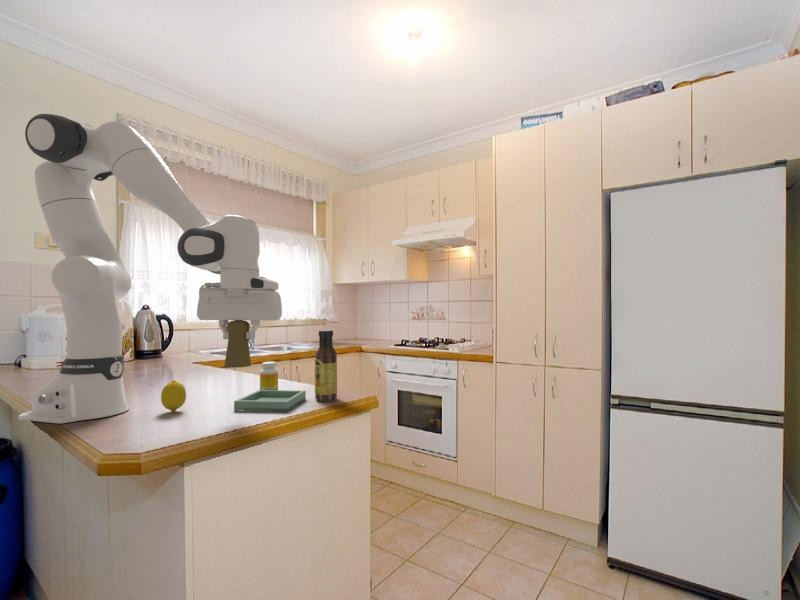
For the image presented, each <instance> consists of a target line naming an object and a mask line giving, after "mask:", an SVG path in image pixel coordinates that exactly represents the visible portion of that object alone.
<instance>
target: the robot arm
mask: <svg viewBox="0 0 800 600" xmlns="http://www.w3.org/2000/svg"><path fill="white" fill-rule="evenodd" d="M24 133H25V134H24V136H25V141H26V144H27V146H28V148H29V149H30V150H31V152H32V153H34V154H35V155H36V156H38V157H40V158H41V159H43V160H45V162H42V163H40V164H39V165H38V166H36V168H35V170H34V181H35V182H34V183H35V189H36V194H37V199H38V202H39V205H40V208H41V211H42V214H43V216H44V219H45V222H46V225H47V228H48V230H49V233H50V236H51V239H52V240H53V242H54V244H55V245H56V246H57V247H58V248H59V250H60V251H61V253H62V254H63V255H64V256H65V258H64V259H61V260H60V261H58V262H57V263H56V264H55V266H54V267H53V269H52V272H51V282H52V283H51V284H53V287H54V288H55V289H56V291H57V292H58V295H59V298H60V302H61V305H62V311H63V315H64V319H65V323H66V358H64V361H57V362H55V364H57V365H56V366H55V367H56V368H59V367H61V368H60V370H59V374H58V375H57V376H56V377H54V378H53V379H52V380H50V381H49V382H48V383H46V384H45V385H43V386H41V388H39V389H37V391H35V393H34V394H33V399H32V402H31V403H32V404H31V410H27V411H25V412H23V413H20V414H18V418H17V419H18V420H22V421H31V422H32V421H33V422H40V423H50V424H60V425H61V424H66V423H73V422H77V421H86V420H93V419H101V418H105V417H111V416H114V415H118V414H122V413H125V412H127V411H128V410H129V409H130V406H129V404H128V402H127V397H126V392H125V386H124V385H125V384H124V379H123V373H124V369H125V360H124V359H125V358H124V355H123V325H122V324H123V323H122V321H121V320H120V317H119V313H118V309H117V303H116V301H117V300H121V298H123V297H124V296H126V295H127V294H128V293H129V291H130V290H131V288H132V278H131V275H130V274H129V272H128V271H127V270H126V268H125V265H124V263H123V261H122V259H121V257H120V254H119V253H118V250H117V249H116V247H115V245H114V243H113V241H112V239H111V238H110V235H109V233H108V231H107V228H106V226H105V223H104V220H103V217H102V214H101V212H100V211H101V210H100V209H99V206H98V202H97V200H96V198H95V195H94V192H93V189H92V182H93V180H94V181H100V182H103V181H105V180H107V179H108V178H109V177H112V176H114V178H115V179H116V180H117V181H118V183H120V185H122V187H124V189H126V190H127V191H128V192H129V193H130V194H132V195H133V196H134V197H135V198H136V199H138V200H140V201H142V202H143V203H146V204H148V205H149V206H150V207H153V208H155V209H157V210H158V211H160V212H162V213H163V214H165V215H166V216H168V217H169V218H171V219H172V220H173V221H174V222H175V223H176V224H177V225H178V226H179V227H180V229H181V230H182V231H183V233H182V234H181V236H180V237H179V239H178V242H177V253H178V256H179V257H180V260H182V261H183V262H184V263H185V264H188V265H189V266H191V267H194V268H197V269H200V270H204V271H208V272H210V273H213V274H215V275H219V276H220V277H219V278H220V279H219V280H220V281H219V282H205V283H204V284H202V285H201V286H200V287H199V290H198V303H197V309H196V317H197V319H199V320H200V321H218V326H219V328H220V330H221V332H222V339H223V340H228V339H229V333H228V332H227V324H228V323H229V322H230V321H234V320H243V321H250V326H251V327H250V330H249V332H246V339H247V340H248V341H249V340H250V341H251V340H252V341H253V340H255V339H256V332H257V331H258V329H259V327H260V325H261V321H268V322H269V321H272V322H273V321H275V322H276V321H280V319H281V318H282V315H283V306H282V305H283V304H282V298H281V295H280V293H279V292H278V291H277V290H279V287H280V285H279V283H278V282H277V281H274V280H272V279H268V278H266V277H264V276H260V267H259V256H260V251H261V250H260V248H261V247H260V234H259V233H260V232H259V228H258V226H257V224H256V223H255V222H254V221H253V220H251V219H249V218H248V217H245V216H242V215H241V216H240V215H237V214H227V215H224V216H223V217H222V218H221V219H219V220H218V221H215V222H213V223H209V221H208V220H207V219H206V218H205V217H204V215H203V214H202V213H201V212H200V210H198V208H197V207H196V206H195V204H194V203H193V202H192V201H191V199H190V198H189V197H188V196H187V194H186V193H185V191H184V190H183V188H182V187H181V185H180V184H179V183H178V181H177V179H176V178H175V177H174V175H173V174H172V172H171V170H170V169H169V167H168V166H167V165H166V163H165V162H164V161H163V159H162V158H161V156H160V155H159V154H158V153H157V151H156V150H155V149H154V147H152V145H151V144H150V143H149V142H148V141H147V140H146V139H145V138H144V137H143V136H141V134H140V133H139V132H137V130H135V129H134V128H132V126H130V125H129V124H127V123H126V122H122V121H119V120H118V121H117V120H116V121H115V120H113V121H107V122H105V123H103V124H101V125H99V126H98V127H95V126H92V125H89V124H88V123H83V122H79V121H76V120H72V119H69V118H68V117H65V116H63V115H58V114H53V113H39V114H37V115H34V116H33V117H31V119H29V120H28V122H27V124H26V126H25V132H24Z"/></svg>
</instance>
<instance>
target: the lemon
mask: <svg viewBox="0 0 800 600" xmlns="http://www.w3.org/2000/svg"><path fill="white" fill-rule="evenodd" d="M186 391H187V390H186V387H185V386H184V384H182V383H181V382H179V381H177V380H174V379H173V380H172V381H171V382H168V383H167V384H166V385H165V386H164V387H163V388H162V389H161V396H160V399H161V401H160V403H161V404H162V406H163V407H164V408H165V409H166V410H169V411H171V412H172V413H175V412H177V410H178V409H180V408H181V407H182V406H183V405H184V404H185V403H186V399H187V392H186Z"/></svg>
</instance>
